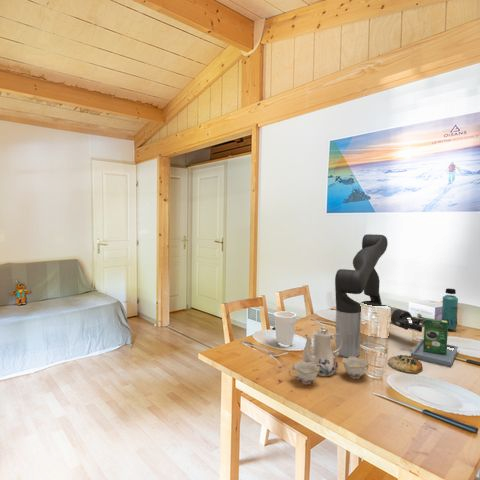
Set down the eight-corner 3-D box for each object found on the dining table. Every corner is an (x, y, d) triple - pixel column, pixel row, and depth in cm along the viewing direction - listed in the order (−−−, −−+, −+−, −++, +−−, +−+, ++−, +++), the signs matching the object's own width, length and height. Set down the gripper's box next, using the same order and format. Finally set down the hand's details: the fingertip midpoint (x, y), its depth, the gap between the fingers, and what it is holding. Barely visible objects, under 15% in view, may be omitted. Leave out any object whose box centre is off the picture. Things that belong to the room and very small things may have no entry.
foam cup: (289, 350, 133) (289, 318, 132) (269, 345, 139) (269, 315, 138) (299, 343, 141) (300, 313, 140) (281, 339, 146) (281, 310, 146)
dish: (450, 367, 117) (450, 362, 117) (410, 358, 126) (410, 353, 126) (457, 351, 132) (457, 346, 132) (421, 343, 140) (421, 339, 140)
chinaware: (299, 397, 101) (303, 346, 98) (277, 368, 117) (280, 324, 114) (375, 383, 109) (380, 336, 107) (345, 358, 125) (349, 317, 122)
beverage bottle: (438, 328, 160) (439, 288, 158) (446, 327, 162) (448, 286, 161) (451, 333, 154) (453, 290, 153) (460, 331, 157) (461, 289, 155)
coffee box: (446, 353, 128) (447, 320, 128) (447, 355, 126) (448, 322, 125) (423, 349, 132) (424, 317, 131) (423, 351, 130) (424, 319, 129)
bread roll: (418, 362, 122) (418, 349, 121) (426, 379, 112) (426, 366, 111) (386, 359, 125) (385, 347, 124) (390, 376, 115) (390, 363, 114)
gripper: (384, 310, 143) (416, 320, 128) (409, 307, 148) (442, 317, 133) (384, 327, 144) (415, 339, 128) (409, 323, 149) (442, 335, 133)
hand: (429, 328), depth 131 cm, fingers open, 8 cm apart
